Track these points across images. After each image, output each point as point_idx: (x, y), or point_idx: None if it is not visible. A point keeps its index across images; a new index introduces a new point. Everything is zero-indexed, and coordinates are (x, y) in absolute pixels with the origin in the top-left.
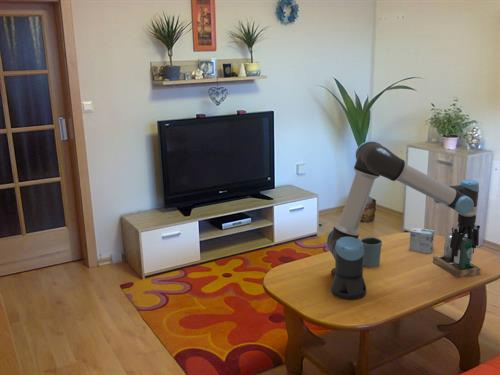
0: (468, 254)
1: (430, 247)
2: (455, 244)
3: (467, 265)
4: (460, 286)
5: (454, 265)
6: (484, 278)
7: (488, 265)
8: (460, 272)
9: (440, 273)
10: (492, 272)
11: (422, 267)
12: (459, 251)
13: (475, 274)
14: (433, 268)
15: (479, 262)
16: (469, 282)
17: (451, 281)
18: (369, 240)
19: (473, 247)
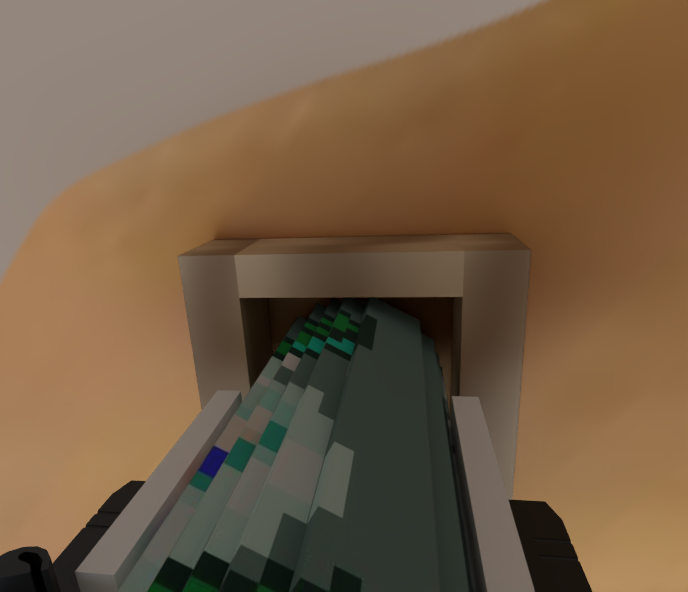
0: (304, 431)
1: None
2: None
3: (340, 329)
4: (680, 12)
5: None
6: (224, 134)
7: (19, 385)
8: (513, 248)
9: (611, 410)
10: (58, 240)
11: (675, 580)
12: (506, 578)
13: (272, 240)
14: (584, 525)
15: (67, 463)
16: (471, 90)
17: (666, 190)
18: None
19: (57, 585)
